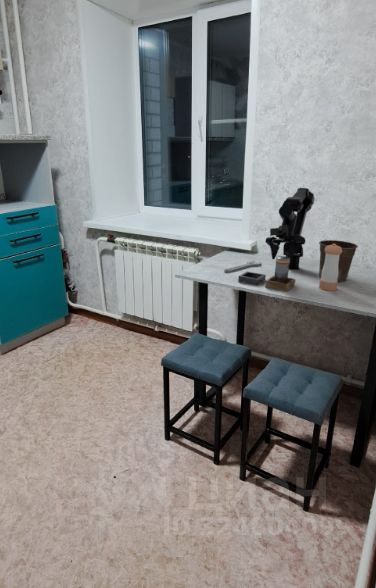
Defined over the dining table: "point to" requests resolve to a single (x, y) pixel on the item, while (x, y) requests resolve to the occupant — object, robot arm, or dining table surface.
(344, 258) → the plant pot
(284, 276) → the brass-banded metal cylinder
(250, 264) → the adjustable wrench
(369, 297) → the dining table surface
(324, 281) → the pepper shaker
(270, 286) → the wooden square frame
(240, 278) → the socket block
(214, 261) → the dining table surface
